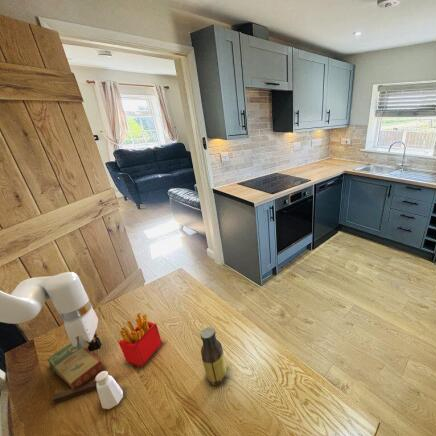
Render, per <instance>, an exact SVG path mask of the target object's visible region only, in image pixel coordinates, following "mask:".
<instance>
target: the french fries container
mask: <svg viewBox="0 0 436 436" xmlns="http://www.w3.org/2000/svg"><path fill="white" fill-rule="evenodd" d="M136 316H137V318H135V323H136V327H135V328H134V325H133V324H132V322H131V320H127V321H126V324H127V326H128V327H129V329H130V330H129V329H127V328H126V326H125V325H123V326H122V327H120V328H121V329H120V331H119V334H120V335H121V337H122V339H120V340H119V341H118V344H119V347H120V349H121V352H122V354H123V357H124V359H125V361H126V362H128V363H127V364H130V365H132V366H136V367H139V368H142V367H143V366H144V365H145V364H146V363H147V362H148V361H149V360H150V358H151V357H152V356H153V355H154V354H155V353H156V352H157V351H158V349H159V348H160V347H161V346H162V345H163V342H162V337H161V334H160V332H159V328H158V324H157V323H155V322H151V321H148V317H147V314H145V313H144V314H143V315H141V312H138V313H136Z"/></svg>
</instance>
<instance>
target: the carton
mask: <svg viewBox="0 0 436 436" xmlns="http://www.w3.org/2000/svg"><path fill="white" fill-rule="evenodd" d="M46 360H47V362H48V364H49V366H50V367H51V369H52V370H53V371H54V372H55V373H56V374H57V376H59V377H60V378H61V379H62V380H63V381H64V382H65V383H66V384H67V385H68V387H70V388H71V389H74V388H77V387H80V386H83V385H86V384H87V383H88V382H89V381H90V380H92V379H93V378H94V377H96V376H97V375H98V374H99V373H100V372H103V371H104V369H105V367H104V365H103V363H102V360H101V359H100V358H98V357H97V356H96V355H94V353H92V351H91V352H90V351H89V350H88V348H86V349H82V348H81V345H80V342H79V343H78V345H77V346H76V347H73V346H72V344H71V343H69V344H68V345H66V346H64V347H62V349H60V350H59V351H57V352H55V353H54V354H52V355H51V356H49V357H48V358H46Z"/></svg>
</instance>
